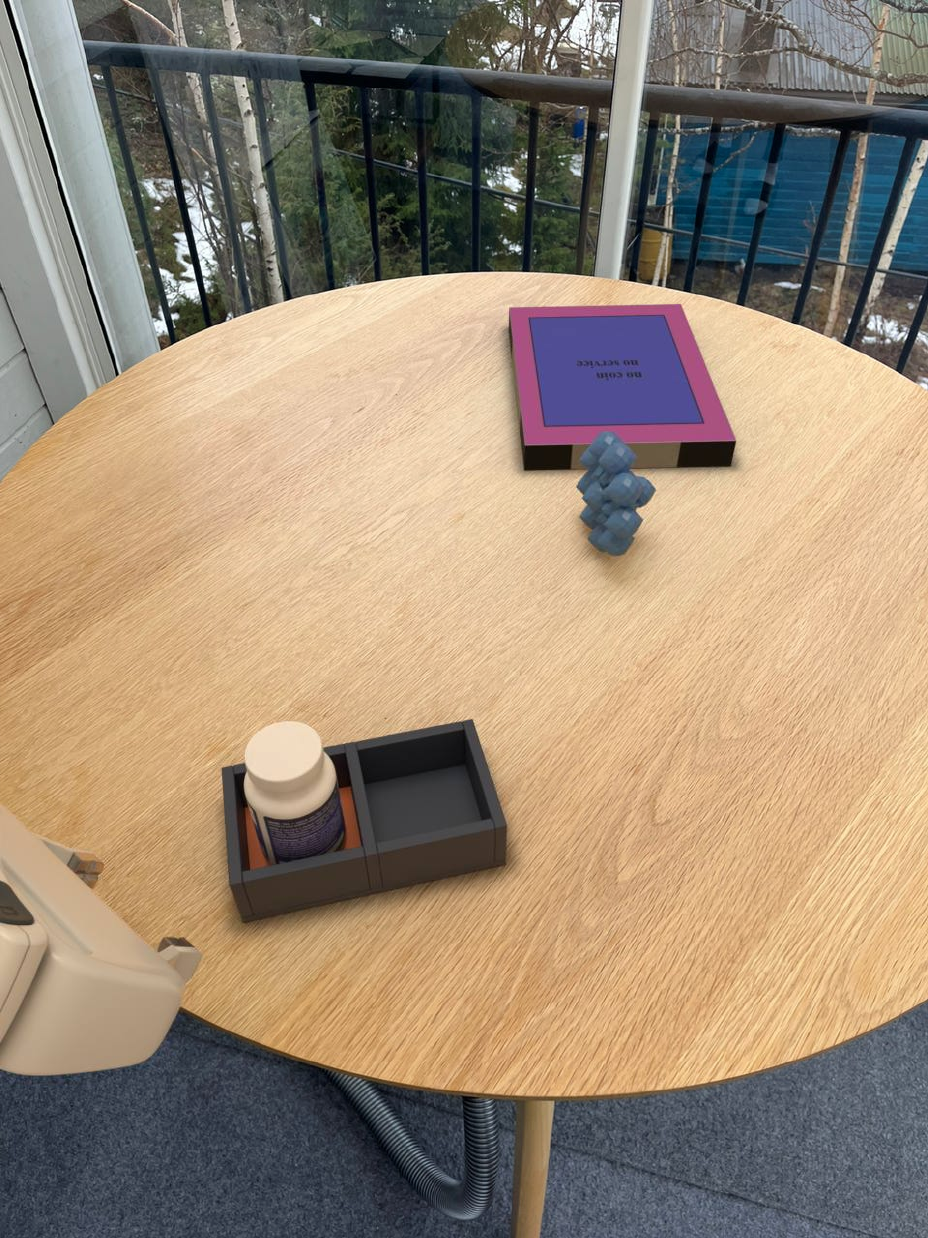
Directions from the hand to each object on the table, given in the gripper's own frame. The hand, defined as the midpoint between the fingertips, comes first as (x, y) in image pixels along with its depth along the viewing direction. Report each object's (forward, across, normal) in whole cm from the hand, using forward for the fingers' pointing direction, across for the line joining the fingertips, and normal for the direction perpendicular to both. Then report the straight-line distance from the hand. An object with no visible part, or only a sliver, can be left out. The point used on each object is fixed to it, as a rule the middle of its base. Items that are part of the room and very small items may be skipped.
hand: (138, 913), depth 51 cm
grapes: (+38, -4, +36) cm, 52 cm away
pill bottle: (+13, -2, +5) cm, 14 cm away
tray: (+16, 0, +7) cm, 17 cm away
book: (+49, -20, +56) cm, 77 cm away
